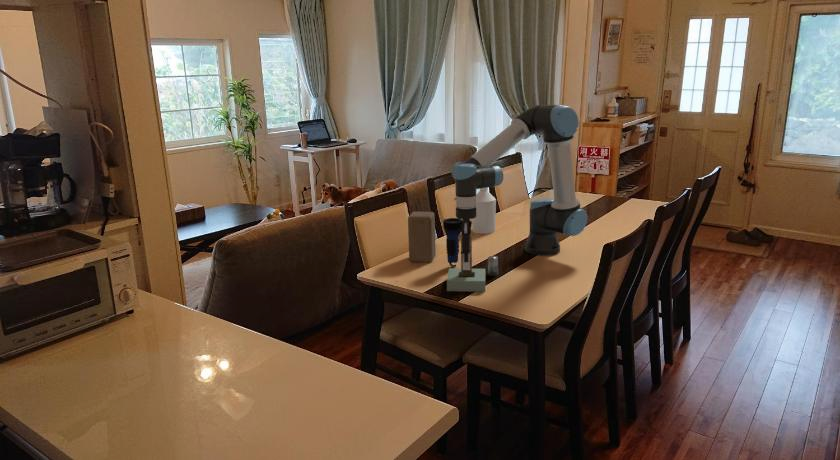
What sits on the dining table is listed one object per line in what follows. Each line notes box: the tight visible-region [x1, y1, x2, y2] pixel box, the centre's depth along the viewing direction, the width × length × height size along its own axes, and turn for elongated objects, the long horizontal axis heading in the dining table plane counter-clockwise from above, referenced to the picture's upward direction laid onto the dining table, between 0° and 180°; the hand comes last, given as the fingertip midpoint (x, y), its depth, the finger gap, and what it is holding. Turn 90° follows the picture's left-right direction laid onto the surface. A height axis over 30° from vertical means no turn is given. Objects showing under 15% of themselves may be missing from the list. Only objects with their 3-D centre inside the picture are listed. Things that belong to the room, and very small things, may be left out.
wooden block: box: [407, 211, 437, 263], centre depth 253 cm, size 10×10×20 cm
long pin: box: [460, 234, 473, 277], centre depth 221 cm, size 4×4×17 cm
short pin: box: [487, 255, 499, 277], centre depth 233 cm, size 4×4×7 cm
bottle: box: [471, 187, 497, 235], centre depth 294 cm, size 12×12×25 cm
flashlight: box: [442, 217, 463, 268], centre depth 241 cm, size 8×8×20 cm
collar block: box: [446, 267, 486, 293], centre depth 223 cm, size 14×14×4 cm
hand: (466, 267), depth 222 cm, fingers closed on long pin, 4 cm apart
